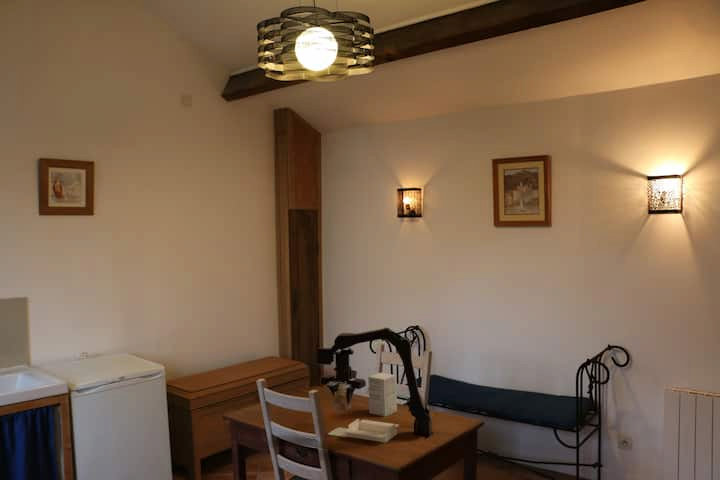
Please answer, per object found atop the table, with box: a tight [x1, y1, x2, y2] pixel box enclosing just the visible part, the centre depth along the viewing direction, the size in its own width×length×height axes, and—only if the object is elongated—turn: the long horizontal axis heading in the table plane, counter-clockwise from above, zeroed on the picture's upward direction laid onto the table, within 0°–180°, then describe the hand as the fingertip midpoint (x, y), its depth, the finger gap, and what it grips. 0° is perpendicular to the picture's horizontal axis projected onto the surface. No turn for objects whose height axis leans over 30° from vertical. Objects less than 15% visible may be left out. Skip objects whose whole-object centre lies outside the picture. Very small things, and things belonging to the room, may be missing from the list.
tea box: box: [334, 388, 352, 412], centre depth 247 cm, size 5×5×7 cm
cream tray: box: [344, 418, 400, 443], centre depth 243 cm, size 17×16×5 cm
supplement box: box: [367, 372, 398, 417], centre depth 275 cm, size 10×9×17 cm
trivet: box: [327, 427, 348, 438], centre depth 248 cm, size 9×9×1 cm
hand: (343, 402), depth 247 cm, fingers closed on tea box, 5 cm apart
